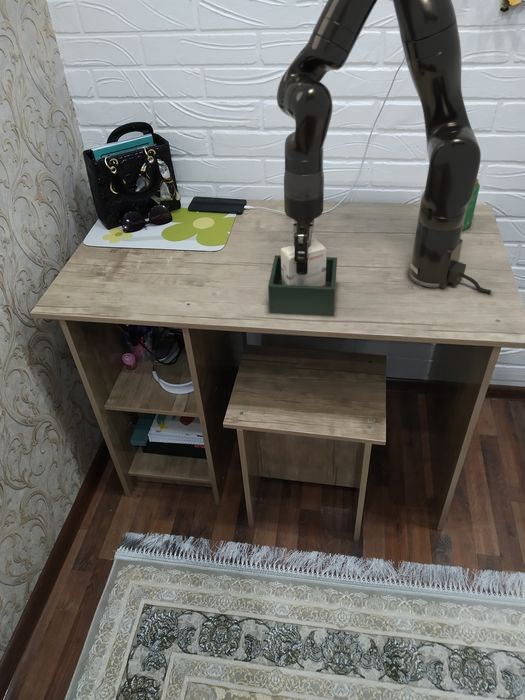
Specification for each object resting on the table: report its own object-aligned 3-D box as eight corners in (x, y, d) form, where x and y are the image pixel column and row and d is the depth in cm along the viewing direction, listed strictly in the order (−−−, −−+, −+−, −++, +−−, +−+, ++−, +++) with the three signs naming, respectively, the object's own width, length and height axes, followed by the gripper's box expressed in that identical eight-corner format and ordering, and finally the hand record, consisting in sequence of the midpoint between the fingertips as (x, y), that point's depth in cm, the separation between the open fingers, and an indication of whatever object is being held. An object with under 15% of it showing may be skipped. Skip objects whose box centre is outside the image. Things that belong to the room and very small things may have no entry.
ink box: (316, 282, 127) (317, 236, 119) (326, 294, 124) (328, 248, 116) (280, 293, 125) (279, 246, 117) (290, 305, 121) (289, 258, 113)
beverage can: (462, 214, 148) (471, 170, 140) (476, 230, 142) (486, 185, 134) (433, 218, 147) (440, 174, 139) (445, 234, 141) (454, 189, 133)
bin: (335, 283, 128) (337, 257, 124) (333, 316, 120) (334, 289, 115) (275, 281, 130) (274, 255, 125) (269, 312, 122) (268, 286, 117)
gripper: (321, 208, 102) (319, 282, 113) (325, 172, 112) (323, 244, 123) (279, 207, 103) (282, 281, 114) (287, 172, 113) (289, 242, 124)
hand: (303, 261), depth 119 cm, fingers open, 8 cm apart
